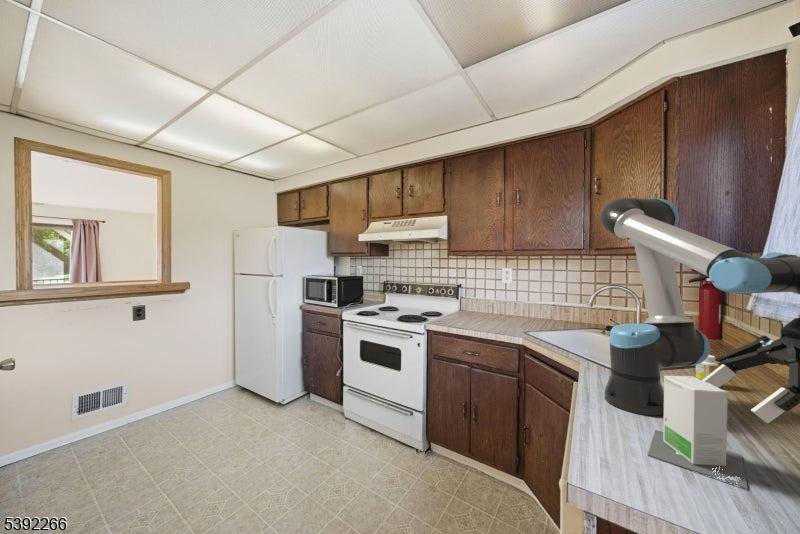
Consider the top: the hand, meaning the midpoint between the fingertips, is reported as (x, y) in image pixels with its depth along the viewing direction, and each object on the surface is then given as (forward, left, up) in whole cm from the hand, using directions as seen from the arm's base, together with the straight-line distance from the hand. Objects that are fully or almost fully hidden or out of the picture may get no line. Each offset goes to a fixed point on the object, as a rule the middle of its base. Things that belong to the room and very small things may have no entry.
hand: (728, 401), depth 61 cm
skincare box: (-5, -1, -13) cm, 14 cm away
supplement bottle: (-3, +56, -13) cm, 57 cm away
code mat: (-5, -1, -13) cm, 14 cm away
